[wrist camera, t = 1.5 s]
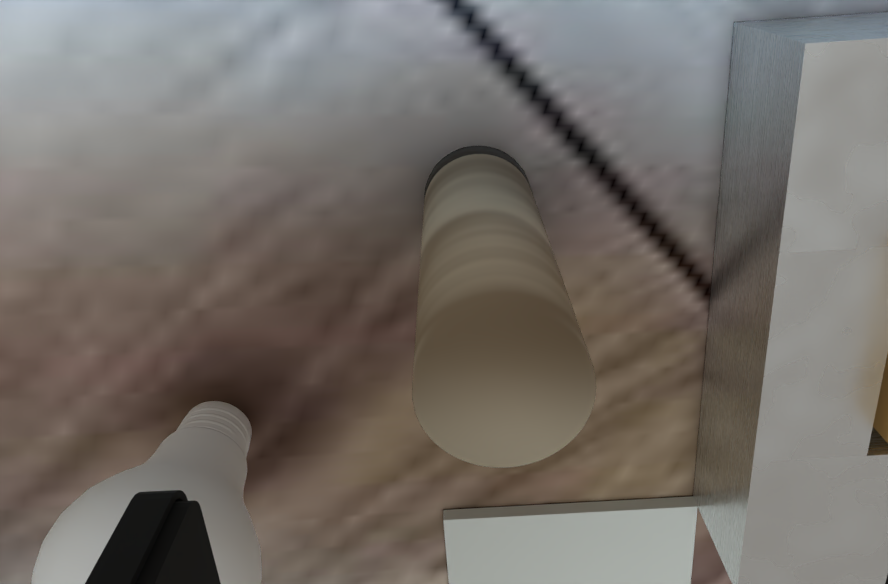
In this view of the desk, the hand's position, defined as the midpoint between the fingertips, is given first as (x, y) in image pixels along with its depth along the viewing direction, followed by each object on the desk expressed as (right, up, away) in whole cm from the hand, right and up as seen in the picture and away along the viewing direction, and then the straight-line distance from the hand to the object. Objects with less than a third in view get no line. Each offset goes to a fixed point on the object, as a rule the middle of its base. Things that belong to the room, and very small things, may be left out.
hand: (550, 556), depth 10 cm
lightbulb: (-10, -1, +19) cm, 21 cm away
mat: (+4, -9, +23) cm, 25 cm away
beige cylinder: (0, +7, +15) cm, 17 cm away
